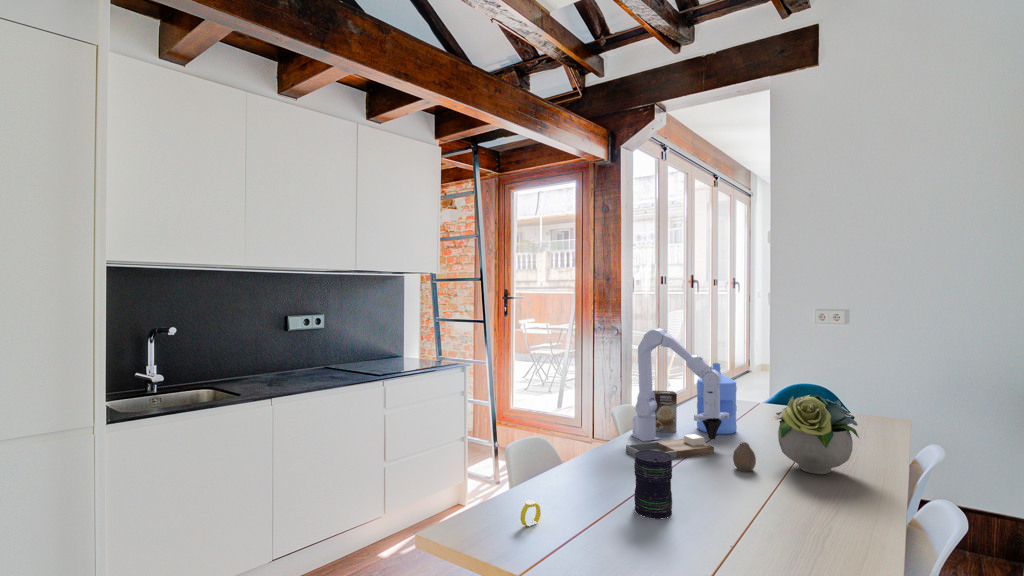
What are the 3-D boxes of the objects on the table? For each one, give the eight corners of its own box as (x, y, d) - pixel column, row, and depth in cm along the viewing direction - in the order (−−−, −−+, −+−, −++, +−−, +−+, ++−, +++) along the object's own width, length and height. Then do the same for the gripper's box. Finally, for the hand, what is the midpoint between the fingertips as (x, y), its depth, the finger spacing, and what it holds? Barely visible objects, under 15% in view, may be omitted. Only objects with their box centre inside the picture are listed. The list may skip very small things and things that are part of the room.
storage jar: (631, 503, 146) (631, 449, 146) (666, 503, 145) (666, 450, 145) (638, 519, 136) (638, 461, 136) (676, 519, 135) (676, 461, 135)
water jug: (702, 423, 232) (702, 360, 232) (740, 428, 223) (740, 363, 223) (692, 431, 220) (692, 364, 220) (731, 437, 210) (731, 367, 211)
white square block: (683, 441, 195) (683, 435, 195) (695, 440, 197) (695, 434, 197) (692, 445, 191) (692, 438, 191) (704, 444, 192) (704, 437, 192)
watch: (526, 531, 130) (525, 508, 129) (518, 528, 132) (517, 504, 131) (543, 522, 134) (542, 499, 133) (535, 519, 136) (534, 496, 135)
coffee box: (654, 431, 219) (654, 393, 219) (651, 427, 225) (651, 390, 225) (677, 432, 218) (676, 393, 218) (673, 428, 224) (673, 390, 224)
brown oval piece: (758, 469, 173) (758, 443, 173) (751, 475, 168) (751, 447, 168) (737, 464, 178) (737, 438, 178) (729, 470, 172) (729, 443, 173)
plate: (656, 448, 196) (656, 441, 196) (692, 444, 201) (692, 437, 201) (676, 458, 184) (676, 451, 184) (713, 453, 189) (713, 446, 189)
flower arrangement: (777, 453, 189) (777, 386, 189) (861, 467, 175) (860, 394, 175) (765, 473, 169) (765, 397, 169) (858, 490, 154) (857, 408, 155)
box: (626, 451, 191) (626, 445, 191) (656, 448, 196) (656, 441, 196) (644, 462, 180) (644, 455, 180) (676, 458, 184) (676, 451, 184)
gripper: (702, 406, 190) (702, 443, 190) (735, 403, 195) (735, 439, 195) (690, 402, 197) (690, 438, 197) (721, 399, 202) (721, 434, 202)
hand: (711, 438), depth 196 cm, fingers closed
